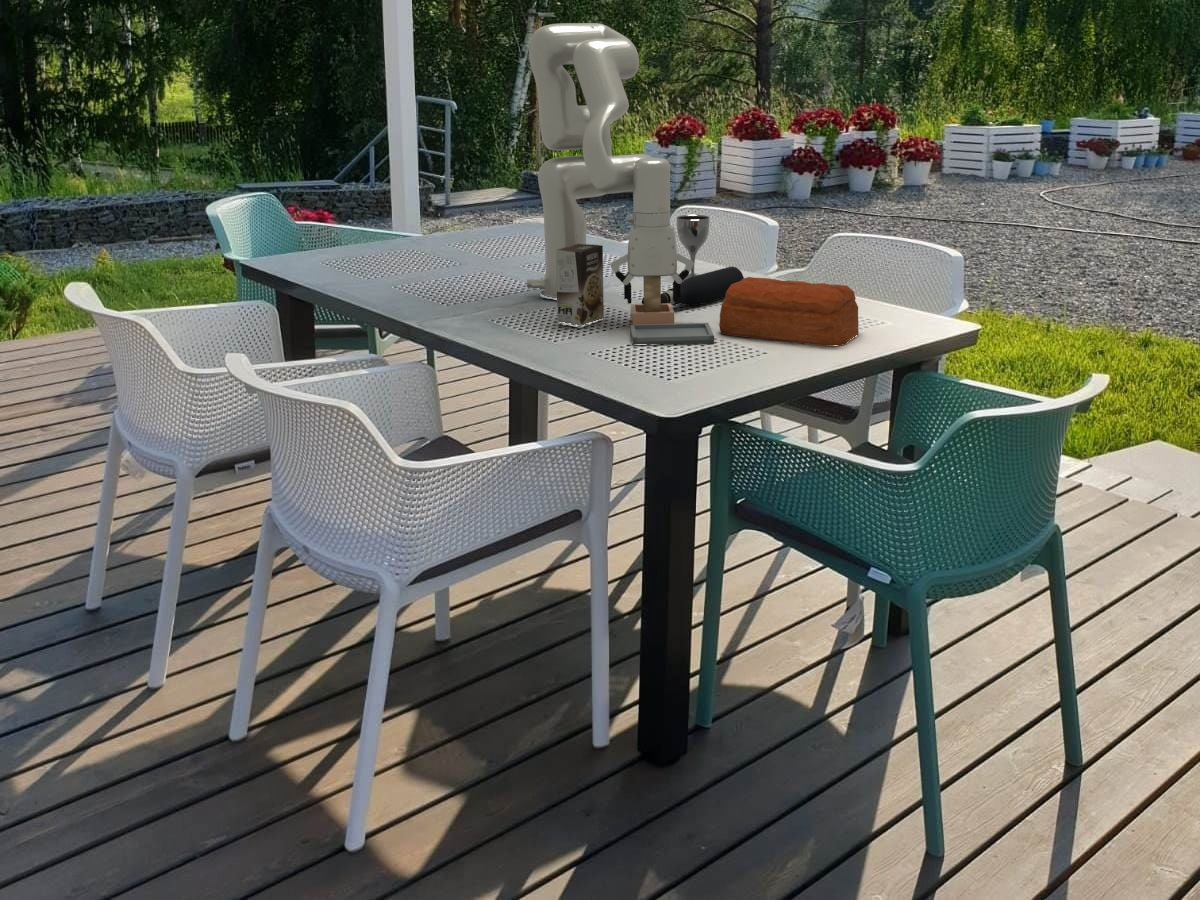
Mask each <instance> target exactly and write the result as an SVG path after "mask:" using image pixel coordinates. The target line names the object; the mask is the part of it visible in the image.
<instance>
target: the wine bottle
mask: <svg viewBox="0 0 1200 900" xmlns="http://www.w3.org/2000/svg"><path fill="white" fill-rule="evenodd" d="M696 275H697V276H693V277H690V278H688V279H686V280H684V281H682V283H681V284H680V298H677V303H675V302H674V301H673V287H671V288H669V289H667V290H665V291H663V292H661V304H664V303H671V305H672V307H673V306H677V305H685V306H700V305H702V304H705V303H710V302H714V301H716V300H720V299H723V298H724V299H725V294H726V292H727V290H728V289H729V287H730V285H732V284H734V283H736V282H740V281H741V280H742V279H744V278H745V277H744V275H743V272H742V271H741V270H740V269H739V268H738V267H735V266H728V267H724V268H720V269H715V270H713V271H707V272H704V273H701V274H696ZM641 304H644V296H643V297H642V299H641Z"/></svg>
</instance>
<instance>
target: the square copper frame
mask: <svg viewBox="0 0 1200 900" xmlns="http://www.w3.org/2000/svg"><path fill="white" fill-rule="evenodd" d="M631 320H632V322H631V325H636V324H675V310H674V307H673V306H672V305H671V303H664V304H661V312H644V304H642V303H634V304H633V303H630V321H631Z"/></svg>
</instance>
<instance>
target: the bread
mask: <svg viewBox="0 0 1200 900" xmlns="http://www.w3.org/2000/svg"><path fill="white" fill-rule="evenodd" d="M856 299H857V298H856V295H855V291H854V290H853V289H852V288H851V287H849V286H848V285H846V284H835V283H834V284H830V283H824V282H823V283H814V282H813V283H811V282H807V281H801V280H799V281H798V280H789V279H787V280H786V279H785V280H782V279H781V280H780V279H775V278H768V277H767V278H766V277H752V276H747V277H744V279H742V280H741V281H740V282H736V283H734V284H732V285H730V287H729V289H728V290H727V292H726V294H725V297H724V299H723V300H722V303H721V307H720V312H719V323H718V326H719V332H720V334H722V335H727V336H728V335H729V336H735V337H742V338H750V339H751V338H752V339H762V340H772V341H779V342H786V341H787V342H789V343H794V342H796V343H795V344H804V345H813V346H814V345H815V346H822V347H823V346H824V347H830V346H829V345H841V346H843V345H842V344H846V343H847V342H848V341H849V340H850V339H852V338H853V337H855V336H856V335H858V334H860V333H859V305H858V303H857V302H856ZM787 342H786V343H787ZM847 344H848V343H847ZM847 344H846V345H847ZM827 345H828V346H827Z"/></svg>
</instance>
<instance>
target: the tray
mask: <svg viewBox="0 0 1200 900" xmlns="http://www.w3.org/2000/svg"><path fill="white" fill-rule="evenodd" d="M629 326H630V328H629V329H630V331H631V333H630V336H632V338H631V341H633V343H632V345H633V344H677V345H678V344H679V345H712V344H713V345H714V344H715V334H714V332H713V330H712V328H711V325H710V324H709V322H693V323H692V322H689V323H684V322H682V323H674V324H636V325H632V324H630V325H629ZM679 345H678V346H679Z"/></svg>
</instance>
